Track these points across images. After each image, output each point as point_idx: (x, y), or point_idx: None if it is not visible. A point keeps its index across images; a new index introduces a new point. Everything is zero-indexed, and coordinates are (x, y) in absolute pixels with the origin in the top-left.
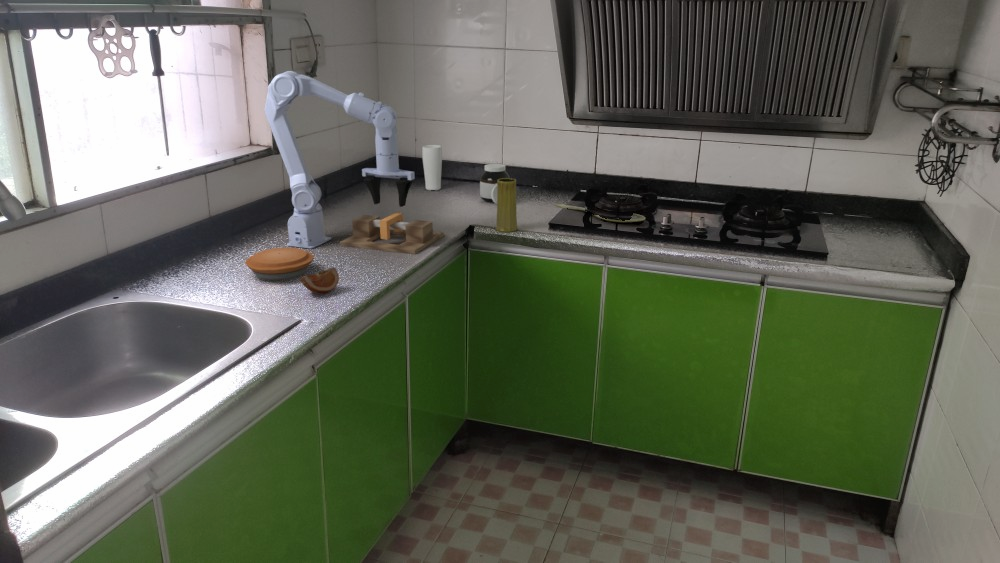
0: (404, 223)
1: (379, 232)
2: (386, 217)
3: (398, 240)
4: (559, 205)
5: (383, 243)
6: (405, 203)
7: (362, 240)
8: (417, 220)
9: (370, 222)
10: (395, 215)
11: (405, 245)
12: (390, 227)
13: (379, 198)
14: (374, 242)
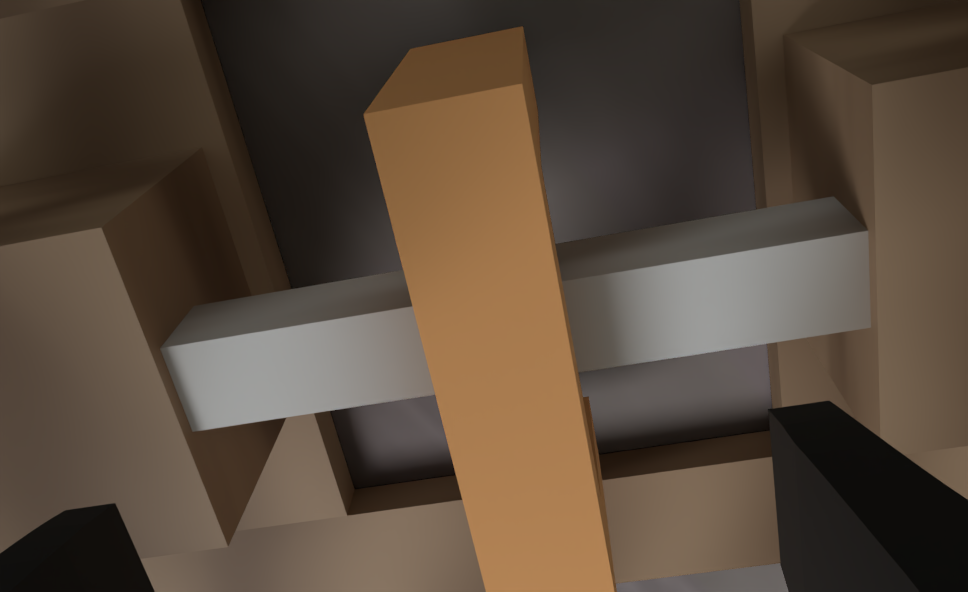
0: (757, 316)
1: (209, 176)
2: (464, 475)
3: (564, 182)
4: None
5: None
6: (854, 420)
7: (300, 512)
8: (928, 101)
9: (220, 486)
10: (516, 303)
11: None
12: None
13: (67, 587)
14: None
